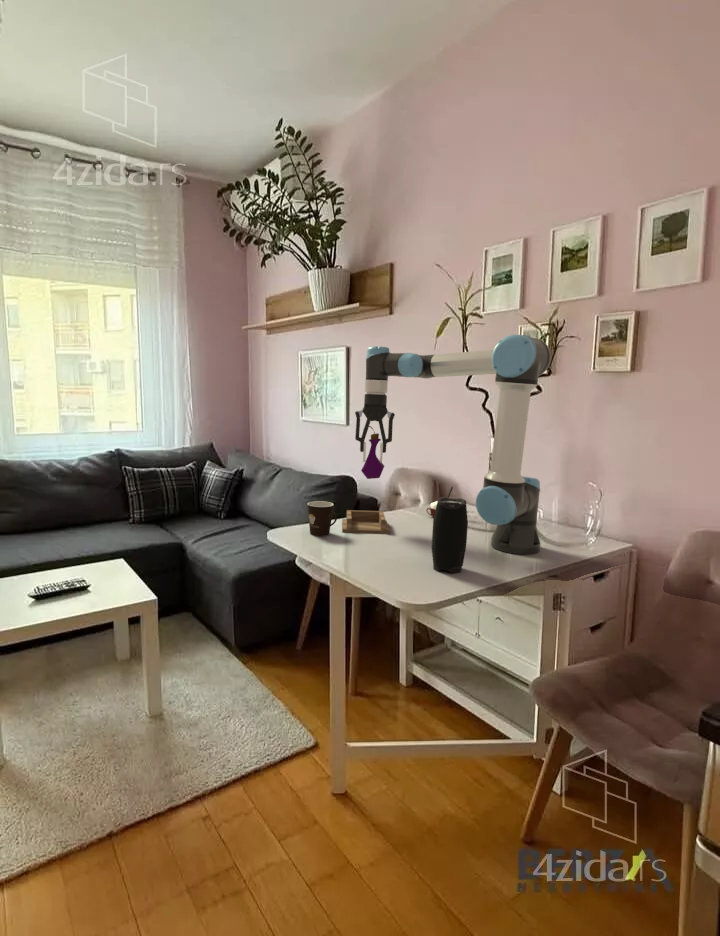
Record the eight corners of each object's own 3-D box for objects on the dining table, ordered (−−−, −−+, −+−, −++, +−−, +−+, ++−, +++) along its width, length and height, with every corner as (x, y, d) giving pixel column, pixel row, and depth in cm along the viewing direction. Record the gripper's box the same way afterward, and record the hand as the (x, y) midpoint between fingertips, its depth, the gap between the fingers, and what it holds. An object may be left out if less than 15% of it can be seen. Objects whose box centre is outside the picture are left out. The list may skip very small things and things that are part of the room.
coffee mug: (304, 530, 189) (304, 501, 188) (328, 529, 192) (329, 500, 190) (312, 540, 178) (312, 509, 177) (338, 539, 181) (339, 508, 179)
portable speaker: (425, 565, 158) (429, 497, 155) (455, 563, 161) (459, 496, 158) (439, 575, 150) (443, 503, 147) (470, 573, 153) (475, 502, 150)
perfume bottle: (385, 474, 198) (380, 423, 195) (383, 478, 190) (379, 425, 188) (364, 476, 199) (359, 425, 196) (361, 480, 191) (356, 427, 189)
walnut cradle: (389, 533, 190) (390, 520, 189) (342, 532, 189) (342, 519, 189) (386, 523, 204) (387, 511, 203) (342, 521, 203) (342, 509, 202)
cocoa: (425, 518, 215) (425, 487, 213) (429, 514, 221) (429, 484, 219) (449, 520, 212) (450, 489, 210) (453, 516, 217) (454, 486, 215)
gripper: (401, 394, 194) (397, 461, 198) (349, 391, 193) (346, 459, 197) (403, 395, 186) (399, 464, 190) (349, 392, 186) (345, 462, 190)
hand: (372, 461), depth 194 cm, fingers closed on perfume bottle, 5 cm apart
